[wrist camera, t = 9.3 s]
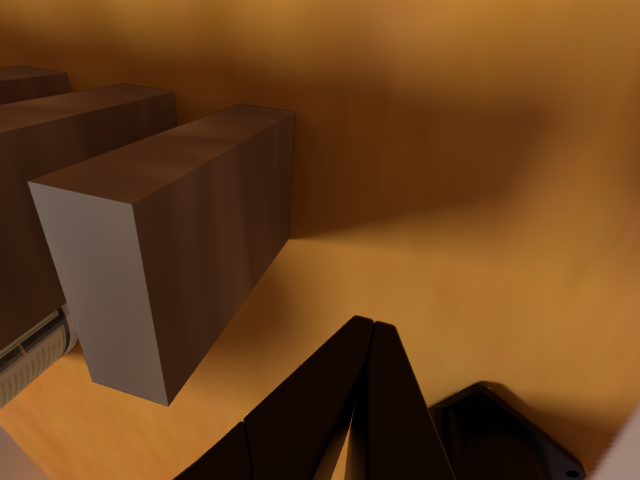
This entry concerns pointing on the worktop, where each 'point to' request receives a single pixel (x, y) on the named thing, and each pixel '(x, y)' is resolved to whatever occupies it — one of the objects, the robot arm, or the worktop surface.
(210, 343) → the domino
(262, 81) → the worktop surface
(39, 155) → the domino
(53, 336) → the coffee can
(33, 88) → the domino
